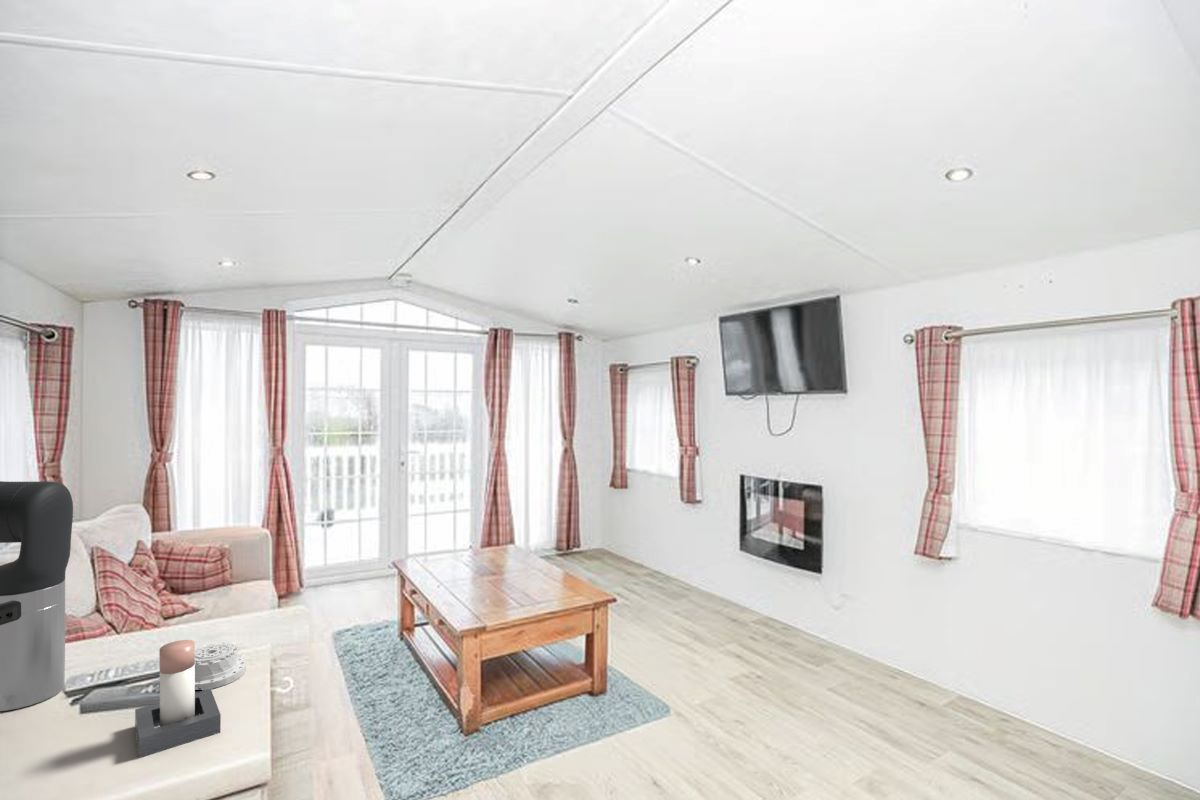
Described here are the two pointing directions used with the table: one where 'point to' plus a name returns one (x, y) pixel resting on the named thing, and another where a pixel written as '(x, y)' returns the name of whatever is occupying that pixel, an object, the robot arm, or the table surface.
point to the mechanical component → (217, 665)
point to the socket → (176, 725)
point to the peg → (177, 681)
